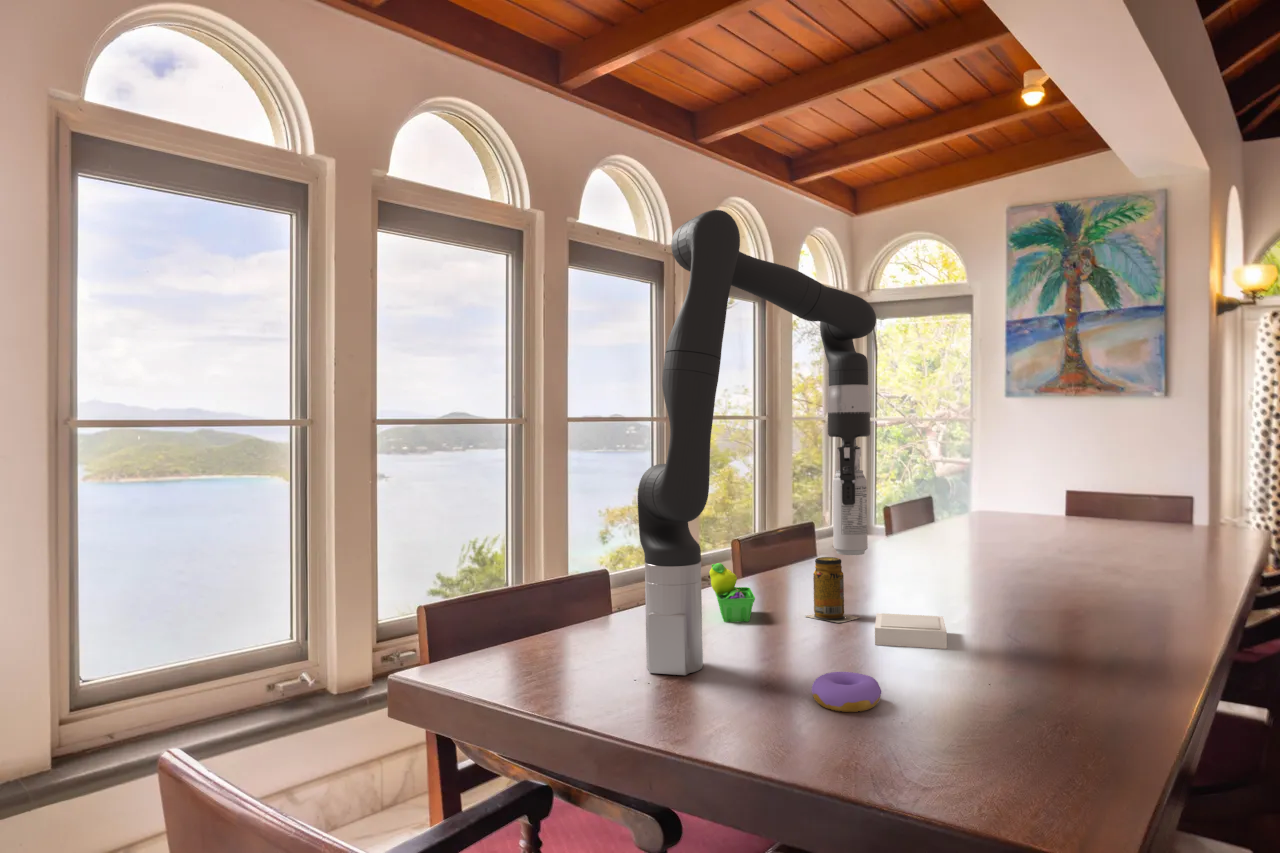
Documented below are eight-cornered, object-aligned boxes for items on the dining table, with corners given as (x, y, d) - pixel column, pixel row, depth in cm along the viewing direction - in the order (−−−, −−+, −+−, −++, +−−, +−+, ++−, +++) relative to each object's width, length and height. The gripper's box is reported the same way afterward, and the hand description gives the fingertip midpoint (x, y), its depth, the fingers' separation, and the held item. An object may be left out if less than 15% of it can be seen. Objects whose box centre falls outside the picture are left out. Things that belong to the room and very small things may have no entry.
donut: (829, 685, 124) (835, 655, 124) (888, 711, 118) (894, 679, 118) (796, 703, 117) (802, 671, 116) (857, 731, 111) (864, 697, 110)
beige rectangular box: (946, 648, 144) (946, 630, 144) (875, 644, 148) (874, 626, 148) (943, 632, 156) (943, 615, 156) (876, 629, 159) (876, 612, 159)
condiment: (826, 611, 175) (825, 554, 175) (860, 618, 169) (859, 559, 169) (804, 617, 171) (803, 558, 171) (838, 624, 164) (836, 563, 164)
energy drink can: (861, 550, 154) (860, 469, 154) (872, 555, 148) (871, 471, 148) (829, 551, 154) (828, 470, 154) (838, 555, 148) (837, 471, 148)
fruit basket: (756, 623, 166) (755, 566, 166) (712, 623, 166) (711, 567, 166) (750, 611, 177) (749, 558, 177) (708, 611, 178) (707, 558, 178)
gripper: (868, 409, 143) (869, 507, 143) (871, 411, 157) (872, 500, 157) (824, 410, 145) (825, 506, 145) (830, 411, 159) (831, 499, 159)
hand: (849, 502), depth 151 cm, fingers closed on energy drink can, 6 cm apart
